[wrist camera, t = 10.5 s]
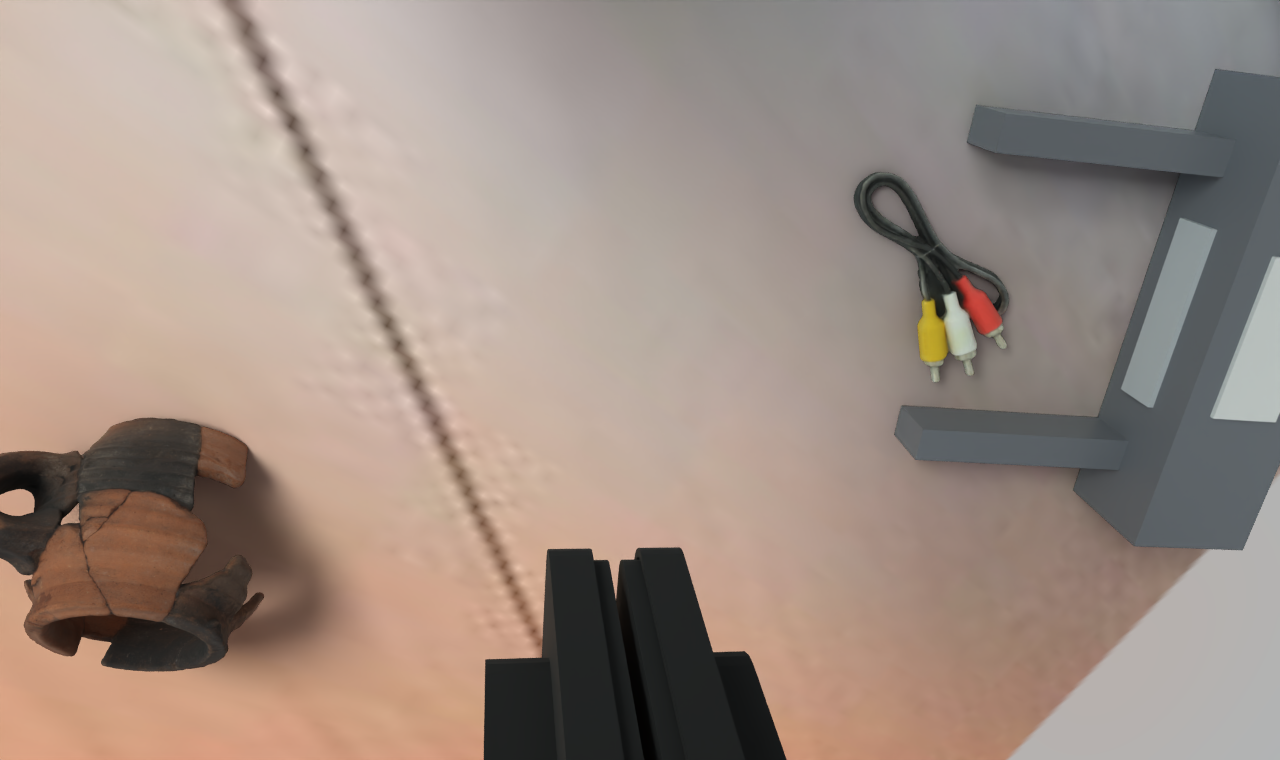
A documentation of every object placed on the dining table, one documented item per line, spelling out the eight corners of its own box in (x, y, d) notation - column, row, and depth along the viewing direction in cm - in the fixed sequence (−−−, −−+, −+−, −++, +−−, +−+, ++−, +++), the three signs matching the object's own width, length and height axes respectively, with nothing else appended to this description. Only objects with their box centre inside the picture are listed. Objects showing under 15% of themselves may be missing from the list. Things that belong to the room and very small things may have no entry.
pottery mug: (323, 454, 41) (286, 635, 36) (236, 532, 47) (194, 697, 42) (20, 346, 35) (-74, 549, 30) (-39, 451, 40) (-126, 637, 35)
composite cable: (838, 187, 39) (859, 199, 37) (942, 130, 39) (969, 139, 36) (919, 374, 43) (942, 396, 41) (1013, 324, 43) (1042, 343, 40)
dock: (992, 40, 37) (1062, 49, 32) (1330, 84, 40) (1441, 98, 35) (882, 481, 45) (926, 541, 40) (1172, 494, 47) (1245, 552, 42)
